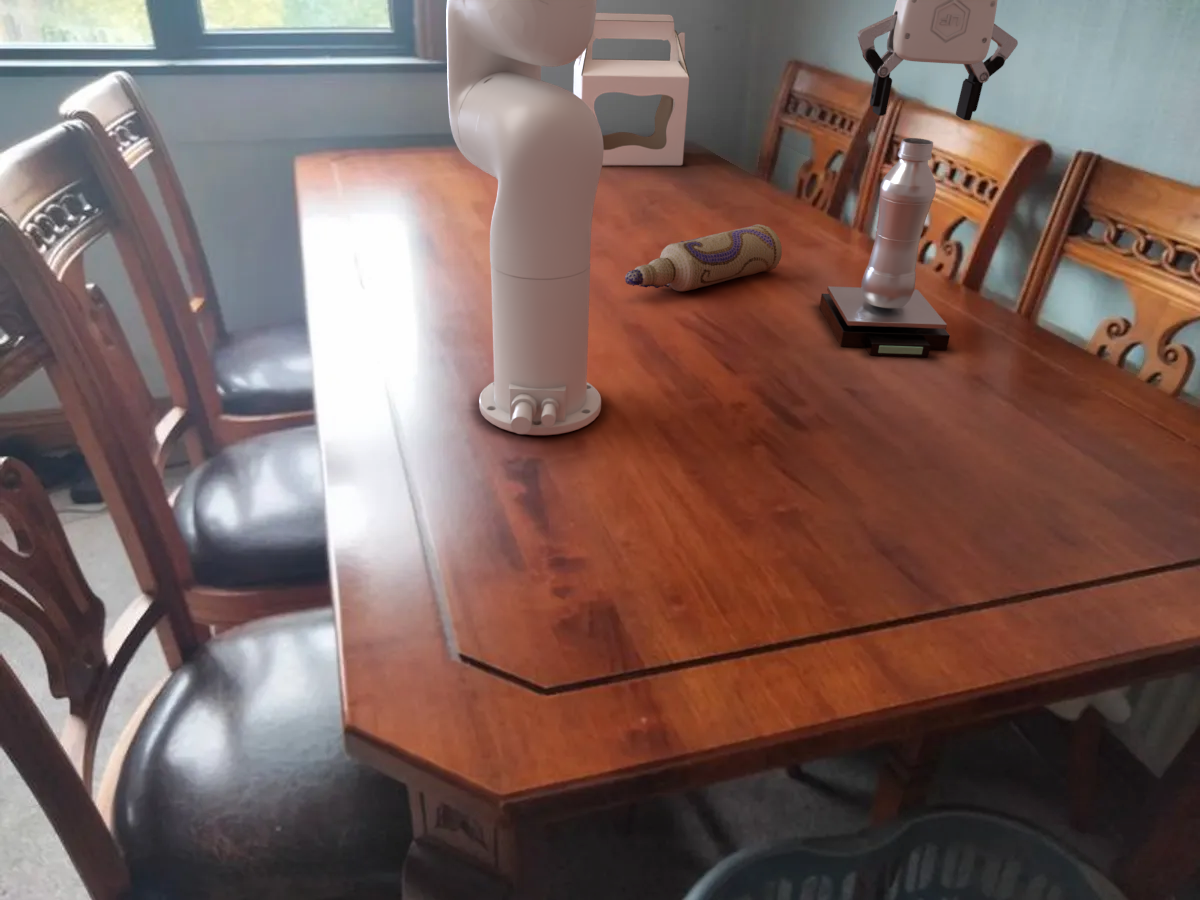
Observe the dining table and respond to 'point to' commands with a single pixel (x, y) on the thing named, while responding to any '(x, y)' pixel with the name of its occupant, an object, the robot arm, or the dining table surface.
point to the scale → (884, 324)
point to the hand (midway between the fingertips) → (920, 115)
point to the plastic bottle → (900, 226)
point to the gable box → (639, 88)
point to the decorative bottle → (711, 259)
